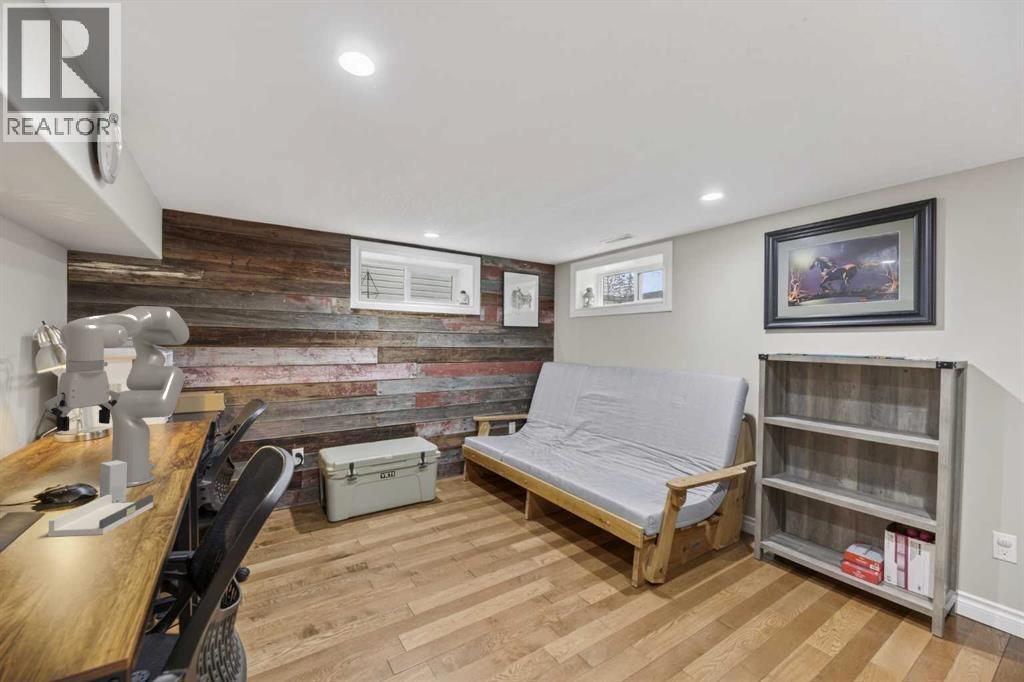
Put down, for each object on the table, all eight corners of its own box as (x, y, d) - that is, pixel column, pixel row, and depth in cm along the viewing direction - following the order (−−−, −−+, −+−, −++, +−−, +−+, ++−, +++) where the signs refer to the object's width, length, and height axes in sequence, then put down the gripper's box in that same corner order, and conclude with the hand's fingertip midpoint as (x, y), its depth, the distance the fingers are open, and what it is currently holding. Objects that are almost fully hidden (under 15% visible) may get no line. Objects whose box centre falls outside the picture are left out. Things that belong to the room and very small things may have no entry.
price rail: (149, 501, 123) (149, 495, 123) (153, 501, 123) (154, 494, 123) (99, 528, 106) (99, 520, 106) (104, 528, 106) (104, 520, 106)
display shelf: (106, 508, 122) (107, 494, 122) (152, 506, 123) (153, 493, 123) (48, 536, 104) (48, 520, 104) (103, 534, 106) (103, 518, 106)
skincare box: (126, 501, 127) (127, 462, 127) (108, 506, 123) (109, 465, 123) (116, 498, 129) (117, 459, 130) (98, 503, 126) (99, 463, 126)
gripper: (109, 364, 128) (108, 420, 128) (35, 368, 111) (34, 432, 111) (129, 365, 126) (128, 421, 127) (56, 370, 109) (56, 435, 110)
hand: (84, 426), depth 119 cm, fingers open, 9 cm apart
